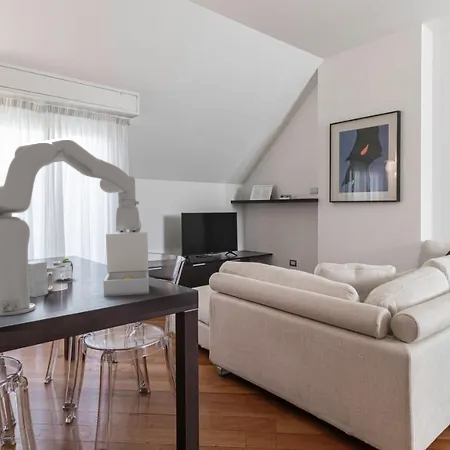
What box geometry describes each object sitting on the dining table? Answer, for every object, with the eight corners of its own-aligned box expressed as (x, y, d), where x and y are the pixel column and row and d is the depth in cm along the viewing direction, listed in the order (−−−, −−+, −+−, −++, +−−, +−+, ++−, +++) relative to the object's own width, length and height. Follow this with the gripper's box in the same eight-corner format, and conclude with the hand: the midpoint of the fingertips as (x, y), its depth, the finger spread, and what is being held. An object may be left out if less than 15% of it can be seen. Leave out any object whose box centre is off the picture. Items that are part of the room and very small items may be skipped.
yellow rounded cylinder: (131, 291, 154) (132, 281, 154) (121, 291, 153) (121, 281, 153) (132, 285, 166) (133, 276, 165) (123, 285, 165) (123, 276, 165)
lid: (147, 232, 166) (147, 231, 168) (105, 233, 162) (106, 232, 164) (148, 272, 169) (148, 270, 171) (107, 274, 166) (108, 272, 168)
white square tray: (149, 293, 153) (148, 278, 152) (104, 296, 149) (103, 280, 149) (148, 285, 169) (148, 271, 169) (108, 287, 166) (107, 273, 166)
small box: (48, 294, 156) (47, 261, 155) (35, 297, 150) (33, 264, 149) (34, 292, 159) (32, 260, 158) (20, 295, 153) (18, 263, 152)
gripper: (144, 203, 180) (145, 243, 181) (110, 204, 177) (111, 244, 178) (144, 203, 172) (145, 245, 173) (109, 204, 169) (110, 246, 170)
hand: (128, 244), depth 176 cm, fingers closed
